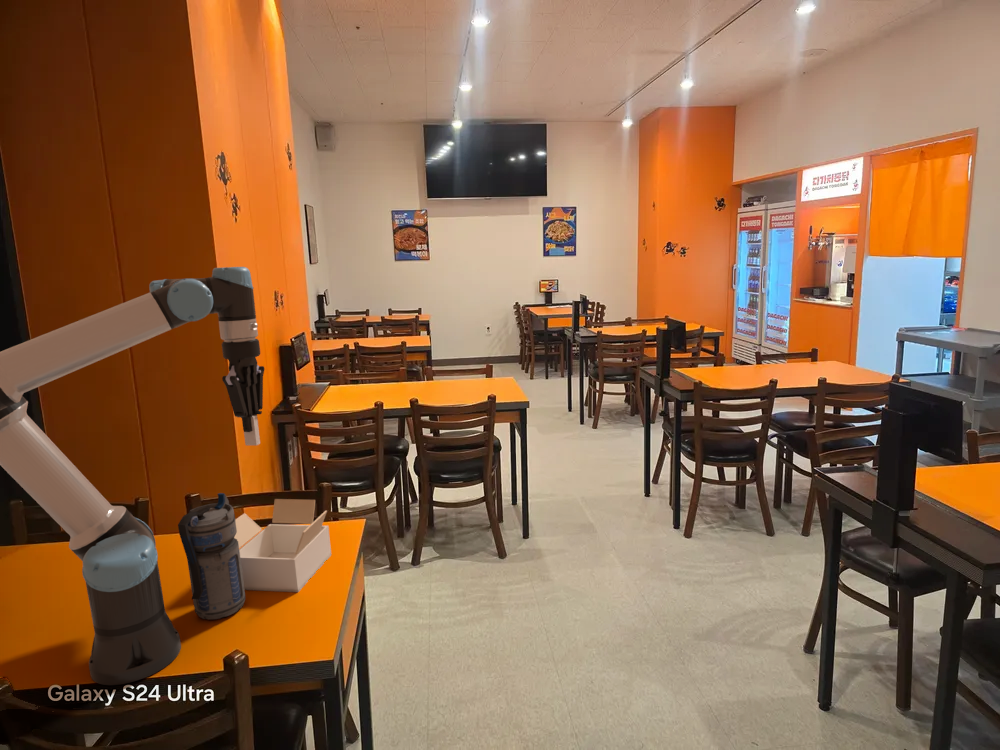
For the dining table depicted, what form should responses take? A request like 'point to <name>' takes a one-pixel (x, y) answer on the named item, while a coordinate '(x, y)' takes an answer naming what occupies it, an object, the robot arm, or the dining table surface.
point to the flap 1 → (293, 511)
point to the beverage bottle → (213, 559)
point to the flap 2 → (310, 532)
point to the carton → (279, 555)
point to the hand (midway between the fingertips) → (252, 444)
